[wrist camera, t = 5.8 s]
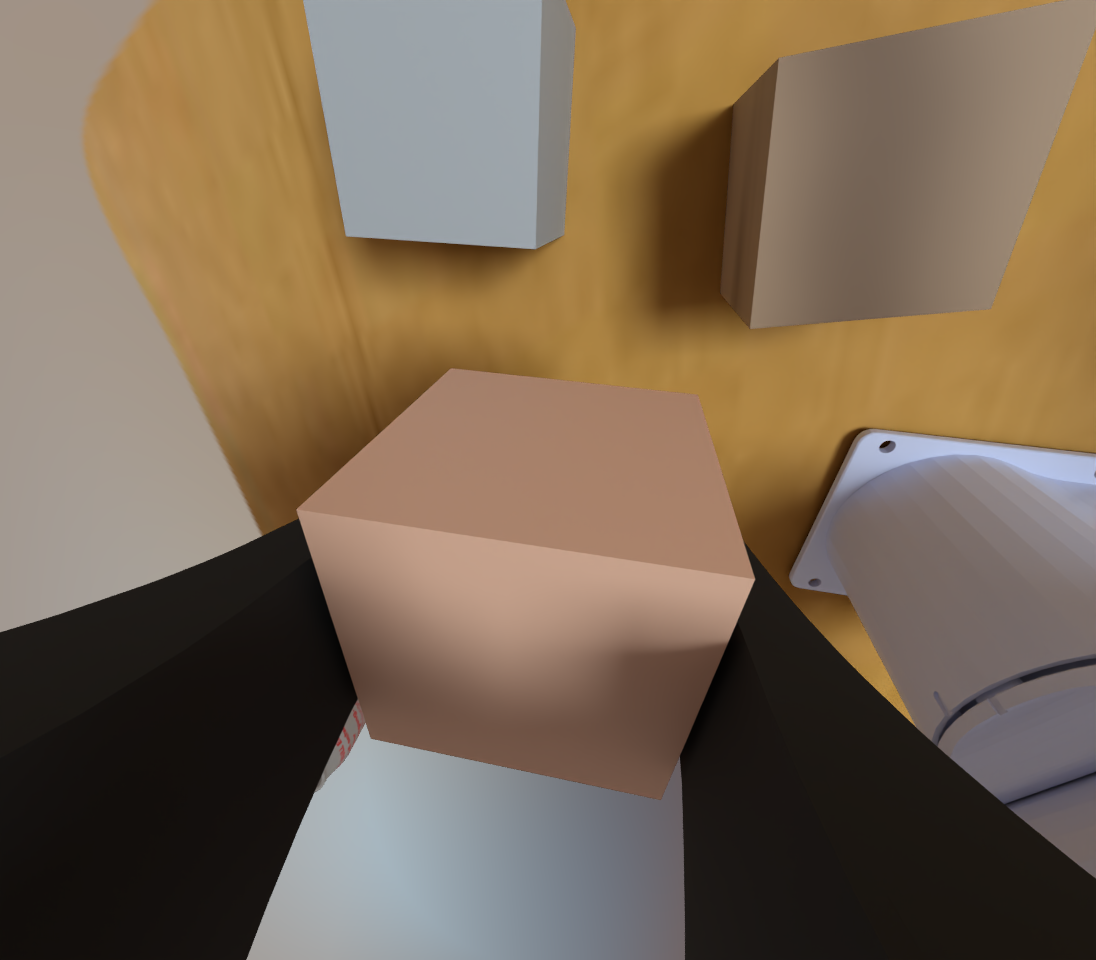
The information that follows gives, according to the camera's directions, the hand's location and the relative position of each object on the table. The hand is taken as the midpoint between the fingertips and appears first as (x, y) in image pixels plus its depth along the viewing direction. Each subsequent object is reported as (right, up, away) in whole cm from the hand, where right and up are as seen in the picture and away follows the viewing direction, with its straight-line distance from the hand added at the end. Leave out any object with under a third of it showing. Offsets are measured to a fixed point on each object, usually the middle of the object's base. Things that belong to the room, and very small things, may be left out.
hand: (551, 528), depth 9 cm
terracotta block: (0, +1, +1) cm, 2 cm away
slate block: (-2, +12, +5) cm, 13 cm away
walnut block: (+8, +10, +4) cm, 13 cm away
